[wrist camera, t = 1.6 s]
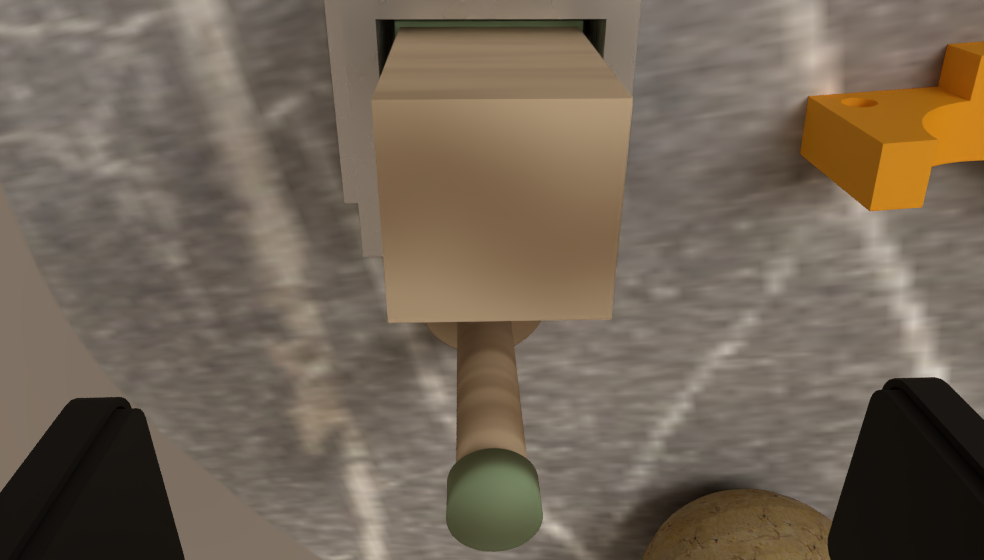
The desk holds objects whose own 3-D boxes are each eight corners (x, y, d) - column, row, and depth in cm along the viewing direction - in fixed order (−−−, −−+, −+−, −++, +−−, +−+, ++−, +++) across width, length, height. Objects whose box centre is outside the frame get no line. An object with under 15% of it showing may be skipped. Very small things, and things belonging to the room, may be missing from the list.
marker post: (417, 234, 34) (391, 446, 21) (547, 232, 34) (598, 442, 21) (422, 342, 37) (403, 585, 24) (542, 340, 37) (584, 580, 24)
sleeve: (317, -112, 27) (248, -104, 18) (643, -111, 27) (730, -103, 18) (347, 194, 33) (306, 312, 24) (615, 191, 33) (671, 306, 24)
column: (409, -13, 27) (362, 92, 14) (555, -13, 28) (640, 90, 15) (416, 130, 30) (382, 328, 17) (549, 129, 30) (616, 324, 17)
